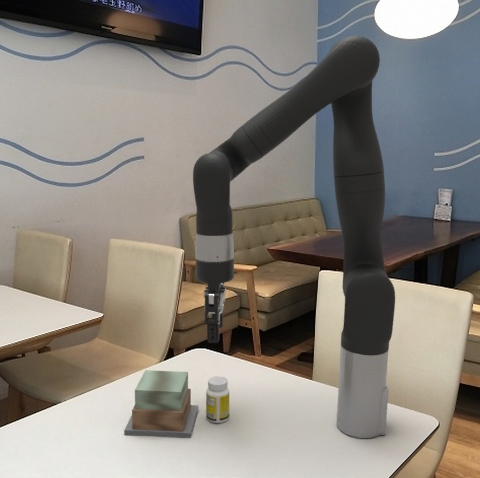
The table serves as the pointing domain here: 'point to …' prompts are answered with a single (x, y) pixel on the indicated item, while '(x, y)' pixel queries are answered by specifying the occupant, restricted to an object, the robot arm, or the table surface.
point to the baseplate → (182, 434)
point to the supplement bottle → (217, 400)
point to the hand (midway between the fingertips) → (215, 334)
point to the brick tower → (161, 401)
